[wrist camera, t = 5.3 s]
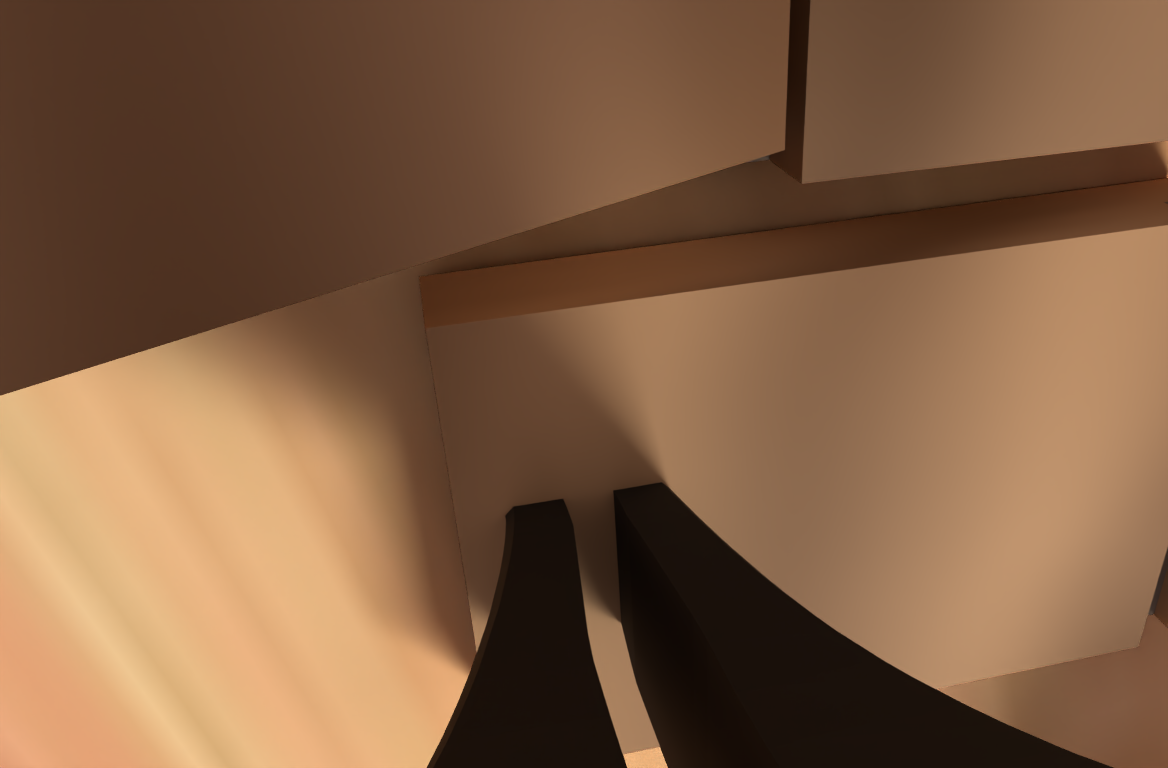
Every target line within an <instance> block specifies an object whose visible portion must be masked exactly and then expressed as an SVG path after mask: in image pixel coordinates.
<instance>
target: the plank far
mask: <svg viewBox="0 0 1168 768" xmlns="http://www.w3.org/2000/svg"><path fill="white" fill-rule="evenodd" d="M419 281H420V289H421V298H422V306H423V315H424V323H425V331H426V337H427V344H428V350H429V356H430V362H431V369H432V375H433V381H434V387H435V394H436V400H437V406H438V413H439V419H440V425H441V431H442V438H443V444H444V450H445V456H446V463H447V469H448V475H449V482H450V488H451V494H452V500H453V507H454V513H455V519H456V525H457V532H458V538H459V544H460V550H461V557H462V563H463V569H464V576H465V582H466V588H467V594H468V601H469V607H470V613H471V619H472V626H473V632H474V638H475V645H476V651H477V650H478V648H479V645H480V642H481V639H482V636H483V633H484V630H485V627H486V624H487V620H488V617H489V614H490V610H491V606H492V602H493V598H494V594H495V590H496V586H497V582H498V578H499V574H500V568H501V563H502V557H503V551H504V544H505V532H506V518H505V515H506V514H507V513H508V512H509V511H510V510H511V509H512V508H513V506H520V505H526V504H533V503H539V502H545V501H551V500H557V499H564V502H565V504H566V506H567V509H568V512H569V514H570V517H571V520H572V523H573V526H574V533H575V541H576V548H577V555H578V563H579V570H580V577H581V585H582V592H583V599H584V607H585V614H586V622H587V629H588V636H589V640H590V645H591V650H592V655H593V660H594V664H595V667H596V670H597V673H598V677H599V680H600V683H601V687H602V690H603V693H604V697H605V700H606V703H607V706H608V710H609V713H610V716H611V719H612V722H613V726H614V729H615V732H616V735H617V738H618V741H619V744H620V747H621V750H622V753H623V754H627V753H632V752H637V751H642V750H646V749H651V748H656V747H660V745H659V743H658V740H657V737H656V735H655V732H654V729H653V727H652V724H651V721H650V719H649V716H648V713H647V711H646V708H645V705H644V703H643V700H642V697H641V695H640V692H639V689H638V686H637V684H636V680H635V676H634V673H633V669H632V665H631V661H630V657H629V653H628V649H627V645H626V641H625V637H624V633H623V628H622V624H621V611H620V594H619V578H618V561H617V544H616V527H615V511H614V494H613V490H619V489H625V488H631V487H637V486H642V485H648V484H654V483H660V482H662V483H663V484H665V485H666V486H667V487H669V488H670V489H671V490H672V491H673V492H674V493H675V494H676V495H677V496H678V497H679V498H680V499H681V500H682V501H683V502H684V503H685V504H686V505H687V506H688V507H689V508H690V509H691V510H692V511H693V512H694V513H695V514H696V515H697V516H698V517H699V518H700V519H701V520H702V521H703V522H704V523H705V524H707V525H708V526H709V527H710V528H711V529H712V530H713V531H714V532H715V533H716V534H717V535H718V536H719V537H720V538H721V539H723V540H724V541H725V542H726V543H727V544H728V545H729V546H730V547H731V548H733V549H734V550H735V551H736V552H737V553H738V554H739V555H741V556H742V557H743V558H744V559H745V560H746V561H748V562H749V563H750V564H751V565H752V566H753V567H755V568H756V569H757V570H758V571H759V572H760V573H762V574H763V575H764V576H765V577H766V578H768V579H769V580H770V581H771V582H773V583H774V584H775V585H776V586H777V587H779V588H780V589H781V590H782V591H784V592H785V593H786V594H787V595H789V596H790V597H791V598H793V599H794V600H795V601H797V602H798V603H799V604H801V605H802V606H803V607H805V608H806V609H807V610H809V611H810V612H811V613H813V614H814V615H815V616H817V617H818V618H819V619H821V620H822V621H824V622H825V623H826V624H828V625H829V626H831V627H832V628H833V629H835V630H836V631H838V632H839V633H841V634H843V635H844V636H846V637H847V638H849V639H850V640H852V641H854V642H855V643H857V644H858V645H860V646H862V647H863V648H865V649H866V650H868V651H869V652H871V653H873V654H874V655H876V656H877V657H879V658H881V659H882V660H884V661H885V662H887V663H889V664H891V665H892V666H894V667H896V668H898V669H899V670H901V671H903V672H905V673H906V674H908V675H910V676H912V677H913V678H915V679H917V680H919V681H921V682H923V683H925V684H927V685H929V686H931V687H932V688H934V689H940V688H944V687H949V686H954V685H959V684H964V683H968V682H973V681H978V680H983V679H988V678H992V677H997V676H1002V675H1007V674H1012V673H1017V672H1021V671H1026V670H1031V669H1036V668H1041V667H1045V666H1050V665H1055V664H1060V663H1065V662H1069V661H1074V660H1079V659H1084V658H1089V657H1093V656H1098V655H1103V654H1108V653H1113V652H1117V651H1122V650H1127V649H1132V648H1137V647H1139V644H1140V640H1141V637H1142V633H1143V630H1144V626H1145V623H1146V620H1147V616H1148V613H1149V609H1150V606H1151V602H1152V599H1153V596H1154V592H1155V589H1156V585H1157V582H1158V578H1159V575H1160V572H1161V568H1162V565H1163V561H1164V558H1165V554H1166V551H1167V548H1168V178H1165V179H1157V180H1149V181H1142V182H1134V183H1127V184H1119V185H1111V186H1104V187H1096V188H1089V189H1081V190H1073V191H1066V192H1058V193H1050V194H1043V195H1035V196H1028V197H1020V198H1012V199H1005V200H997V201H990V202H982V203H974V204H967V205H959V206H952V207H944V208H936V209H929V210H921V211H914V212H906V213H898V214H891V215H883V216H876V217H868V218H860V219H853V220H845V221H838V222H830V223H822V224H815V225H807V226H800V227H792V228H784V229H777V230H769V231H762V232H754V233H746V234H739V235H731V236H724V237H716V238H708V239H701V240H693V241H686V242H678V243H670V244H663V245H655V246H648V247H640V248H632V249H625V250H617V251H610V252H602V253H594V254H587V255H579V256H572V257H564V258H556V259H549V260H541V261H533V262H526V263H518V264H511V265H503V266H495V267H488V268H480V269H473V270H465V271H457V272H450V273H442V274H435V275H427V276H419Z"/></svg>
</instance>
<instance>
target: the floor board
mask: <svg viewBox="0 0 1168 768" xmlns="http://www.w3.org/2000/svg"><path fill="white" fill-rule="evenodd" d="M1162 141H1168V0H790V23H789V49H788V75H787V102H786V128H785V150H783V151H780V152H777V153H774V154H770V155H767V156H764V157H761V158H758V159H755V160H751V161H748V162H755V161H764V160H771V161H772V162H773V163H775V164H776V165H777V166H779V167H780V168H781V169H783V170H784V171H785V172H787V173H788V174H789V175H791V176H792V177H793V178H795V179H796V180H797V181H799V182H800V183H801V184H805V183H814V182H822V181H831V180H839V179H848V178H856V177H865V176H873V175H882V174H890V173H899V172H907V171H916V170H924V169H933V168H941V167H950V166H958V165H967V164H975V163H984V162H992V161H1001V160H1009V159H1018V158H1026V157H1035V156H1043V155H1052V154H1060V153H1069V152H1077V151H1086V150H1094V149H1103V148H1111V147H1120V146H1128V145H1137V144H1145V143H1154V142H1162ZM745 163H747V162H745ZM1153 614H1154V615H1155V616H1156V617H1157V618H1158V619H1159V620H1160V621H1161V622H1162V623H1163V624H1164V625H1165V626H1166V627H1167V628H1168V548H1167V551H1166V554H1165V558H1164V561H1163V565H1162V568H1161V572H1160V575H1159V578H1158V582H1157V585H1156V589H1155V592H1154V596H1153V599H1152V602H1151V606H1150V609H1149V613H1148V615H1153Z"/></svg>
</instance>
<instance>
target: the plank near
mask: <svg viewBox="0 0 1168 768" xmlns="http://www.w3.org/2000/svg"><path fill="white" fill-rule="evenodd" d="M789 23H790V0H0V395H4V394H7V393H10V392H13V391H16V390H20V389H23V388H26V387H29V386H32V385H36V384H39V383H42V382H45V381H48V380H51V379H55V378H58V377H61V376H64V375H67V374H71V373H74V372H77V371H80V370H83V369H87V368H90V367H93V366H96V365H99V364H103V363H106V362H109V361H112V360H115V359H119V358H122V357H125V356H128V355H131V354H135V353H138V352H141V351H144V350H147V349H151V348H154V347H157V346H160V345H163V344H167V343H170V342H173V341H176V340H179V339H183V338H186V337H189V336H192V335H195V334H198V333H202V332H205V331H208V330H211V329H214V328H218V327H221V326H224V325H227V324H230V323H234V322H237V321H240V320H243V319H246V318H250V317H253V316H256V315H259V314H262V313H266V312H269V311H272V310H275V309H278V308H282V307H285V306H288V305H291V304H294V303H298V302H301V301H304V300H307V299H310V298H314V297H317V296H320V295H323V294H326V293H330V292H333V291H336V290H339V289H342V288H345V287H349V286H352V285H355V284H358V283H361V282H365V281H368V280H371V279H374V278H377V277H381V276H384V275H387V274H390V273H393V272H397V271H400V270H403V269H406V268H409V267H413V266H416V265H419V264H422V263H425V262H429V261H432V260H435V259H438V258H441V257H445V256H448V255H451V254H454V253H457V252H461V251H464V250H467V249H470V248H473V247H477V246H480V245H483V244H486V243H489V242H492V241H496V240H499V239H502V238H505V237H508V236H512V235H515V234H518V233H521V232H524V231H528V230H531V229H534V228H537V227H540V226H544V225H547V224H550V223H553V222H556V221H560V220H563V219H566V218H569V217H572V216H576V215H579V214H582V213H585V212H588V211H592V210H595V209H598V208H601V207H604V206H608V205H611V204H614V203H617V202H620V201H624V200H627V199H630V198H633V197H636V196H639V195H643V194H646V193H649V192H652V191H655V190H659V189H662V188H665V187H668V186H671V185H675V184H678V183H681V182H684V181H687V180H691V179H694V178H697V177H700V176H703V175H707V174H710V173H713V172H716V171H719V170H723V169H726V168H729V167H732V166H735V165H739V164H742V163H745V162H748V161H751V160H755V159H758V158H761V157H764V156H767V155H770V154H774V153H777V152H780V151H783V150H785V128H786V102H787V75H788V49H789Z"/></svg>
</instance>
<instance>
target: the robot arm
mask: <svg viewBox="0 0 1168 768" xmlns="http://www.w3.org/2000/svg"><path fill="white" fill-rule="evenodd" d="M613 494H614V511H615V527H616V544H617V561H618V578H619V594H620V611H621V624H622V628H623V633H624V637H625V641H626V645H627V649H628V653H629V657H630V661H631V665H632V669H633V673H634V676H635V680H636V684H637V686H638V689H639V692H640V695H641V697H642V700H643V703H644V705H645V708H646V711H647V713H648V716H649V719H650V721H651V724H652V727H653V729H654V732H655V735H656V737H657V740H658V743H659V745H660V748H661V751H662V753H663V756H664V758H665V761H666V764H667V766H668V768H1113V767H1110V766H1108V765H1105V764H1102V763H1099V762H1097V761H1094V760H1091V759H1088V758H1086V757H1083V756H1080V755H1077V754H1075V753H1072V752H1070V751H1067V750H1065V749H1062V748H1060V747H1058V746H1055V745H1053V744H1051V743H1048V742H1046V741H1044V740H1042V739H1039V738H1037V737H1035V736H1032V735H1030V734H1028V733H1025V732H1023V731H1021V730H1019V729H1016V728H1014V727H1012V726H1009V725H1007V724H1005V723H1003V722H1000V721H998V720H996V719H994V718H992V717H990V716H988V715H986V714H984V713H981V712H979V711H977V710H975V709H973V708H971V707H969V706H967V705H965V704H963V703H961V702H959V701H957V700H955V699H953V698H951V697H949V696H948V695H946V694H944V693H942V692H940V691H938V690H936V689H934V688H932V687H931V686H929V685H927V684H925V683H923V682H921V681H919V680H917V679H915V678H913V677H912V676H910V675H908V674H906V673H905V672H903V671H901V670H899V669H898V668H896V667H894V666H892V665H891V664H889V663H887V662H885V661H884V660H882V659H881V658H879V657H877V656H876V655H874V654H873V653H871V652H869V651H868V650H866V649H865V648H863V647H862V646H860V645H858V644H857V643H855V642H854V641H852V640H850V639H849V638H847V637H846V636H844V635H843V634H841V633H839V632H838V631H836V630H835V629H833V628H832V627H831V626H829V625H828V624H826V623H825V622H824V621H822V620H821V619H819V618H818V617H817V616H815V615H814V614H813V613H811V612H810V611H809V610H807V609H806V608H805V607H803V606H802V605H801V604H799V603H798V602H797V601H795V600H794V599H793V598H791V597H790V596H789V595H787V594H786V593H785V592H784V591H782V590H781V589H780V588H779V587H777V586H776V585H775V584H774V583H773V582H771V581H770V580H769V579H768V578H766V577H765V576H764V575H763V574H762V573H760V572H759V571H758V570H757V569H756V568H755V567H753V566H752V565H751V564H750V563H749V562H748V561H746V560H745V559H744V558H743V557H742V556H741V555H739V554H738V553H737V552H736V551H735V550H734V549H733V548H731V547H730V546H729V545H728V544H727V543H726V542H725V541H724V540H723V539H721V538H720V537H719V536H718V535H717V534H716V533H715V532H714V531H713V530H712V529H711V528H710V527H709V526H708V525H707V524H705V523H704V522H703V521H702V520H701V519H700V518H699V517H698V516H697V515H696V514H695V513H694V512H693V511H692V510H691V509H690V508H689V507H688V506H687V505H686V504H685V503H684V502H683V501H682V500H681V499H680V498H679V497H678V496H677V495H676V494H675V493H674V492H673V491H672V490H671V489H670V488H669V487H667V486H666V485H665V484H663V483H662V482H660V483H654V484H648V485H642V486H637V487H631V488H625V489H619V490H613ZM505 518H506V532H505V544H504V551H503V557H502V563H501V568H500V574H499V578H498V582H497V586H496V590H495V594H494V598H493V602H492V606H491V610H490V614H489V617H488V620H487V624H486V627H485V630H484V633H483V636H482V639H481V642H480V645H479V648H478V650H477V653H476V656H475V659H474V662H473V665H472V668H471V671H470V674H469V676H468V679H467V681H466V684H465V686H464V689H463V691H462V694H461V696H460V699H459V701H458V703H457V706H456V708H455V710H454V713H453V715H452V717H451V719H450V721H449V724H448V726H447V728H446V730H445V732H444V735H443V737H442V739H441V741H440V743H439V745H438V747H437V749H436V751H435V753H434V755H433V757H432V758H431V760H430V762H429V764H428V766H427V768H627V766H626V763H625V760H624V756H623V753H622V750H621V747H620V744H619V741H618V738H617V735H616V732H615V729H614V726H613V722H612V719H611V716H610V713H609V710H608V706H607V703H606V700H605V697H604V693H603V690H602V687H601V683H600V680H599V677H598V673H597V670H596V667H595V664H594V660H593V655H592V650H591V645H590V640H589V636H588V629H587V622H586V614H585V607H584V599H583V592H582V585H581V577H580V570H579V563H578V555H577V548H576V541H575V533H574V526H573V523H572V520H571V517H570V514H569V512H568V509H567V506H566V504H565V502H564V499H557V500H551V501H545V502H539V503H533V504H526V505H520V506H513V508H512V509H511V510H510V511H509V512H508V513H507V514H506V515H505Z"/></svg>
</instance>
